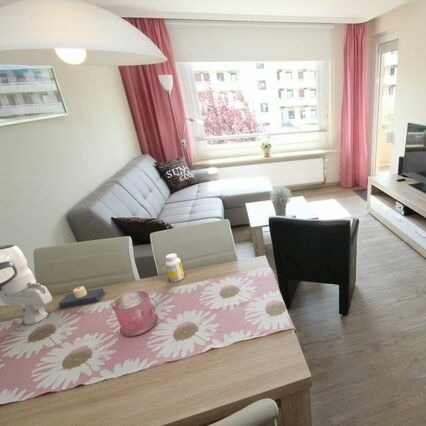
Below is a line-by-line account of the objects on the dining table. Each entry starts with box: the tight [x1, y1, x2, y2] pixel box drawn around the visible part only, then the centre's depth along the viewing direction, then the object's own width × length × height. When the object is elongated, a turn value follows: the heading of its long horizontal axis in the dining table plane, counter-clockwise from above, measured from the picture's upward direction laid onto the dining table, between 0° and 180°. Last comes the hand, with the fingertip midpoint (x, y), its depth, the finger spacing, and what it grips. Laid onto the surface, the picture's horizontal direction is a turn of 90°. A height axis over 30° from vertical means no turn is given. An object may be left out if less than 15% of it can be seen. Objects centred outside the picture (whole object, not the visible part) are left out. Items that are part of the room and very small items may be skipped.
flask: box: [23, 305, 49, 325], centre depth 119 cm, size 7×7×10 cm
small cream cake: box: [72, 285, 87, 298], centre depth 129 cm, size 4×4×4 cm
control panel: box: [58, 287, 105, 309], centre depth 130 cm, size 14×7×3 cm, turn 105°
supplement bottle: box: [164, 253, 185, 282], centre depth 142 cm, size 7×7×13 cm
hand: (33, 312), depth 119 cm, fingers open, 6 cm apart
